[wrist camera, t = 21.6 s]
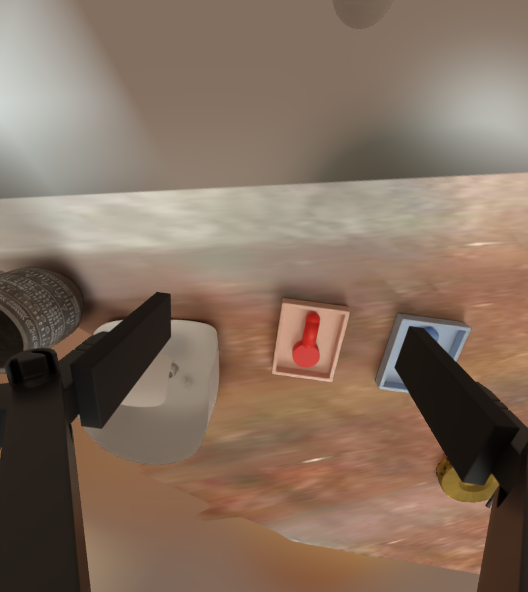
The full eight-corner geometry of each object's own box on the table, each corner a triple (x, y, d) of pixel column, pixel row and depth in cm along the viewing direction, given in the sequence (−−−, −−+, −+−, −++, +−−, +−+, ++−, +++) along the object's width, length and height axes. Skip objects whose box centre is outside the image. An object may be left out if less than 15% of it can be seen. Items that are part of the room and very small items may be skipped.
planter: (88, 264, 44) (15, 294, 32) (100, 331, 48) (40, 379, 36) (15, 257, 44) (-85, 284, 32) (33, 324, 49) (-48, 369, 37)
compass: (427, 459, 54) (433, 470, 52) (493, 440, 51) (501, 451, 49) (446, 497, 57) (452, 508, 55) (508, 481, 54) (517, 492, 52)
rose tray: (282, 297, 43) (282, 302, 41) (347, 306, 43) (350, 311, 41) (272, 366, 48) (271, 373, 46) (330, 374, 48) (331, 382, 46)
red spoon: (299, 308, 43) (300, 314, 41) (327, 311, 43) (329, 318, 41) (290, 360, 47) (290, 368, 45) (316, 363, 47) (317, 371, 45)
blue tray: (397, 313, 43) (402, 318, 41) (463, 321, 43) (471, 328, 41) (374, 381, 48) (378, 388, 46) (434, 389, 48) (440, 397, 46)
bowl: (128, 404, 54) (88, 460, 43) (107, 316, 47) (53, 356, 36) (229, 410, 53) (214, 469, 42) (223, 320, 46) (204, 363, 35)
